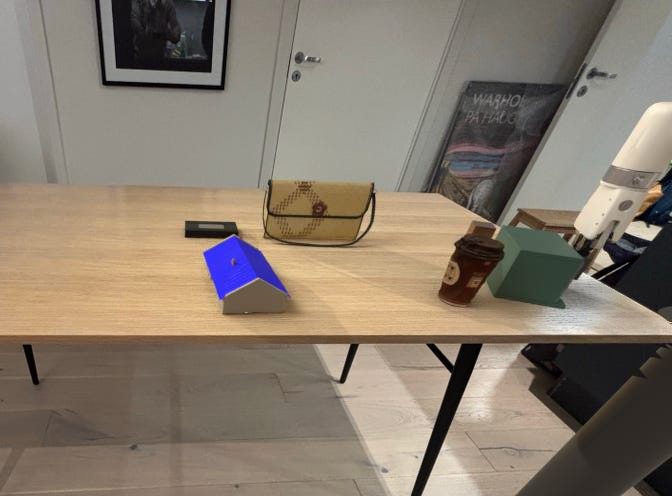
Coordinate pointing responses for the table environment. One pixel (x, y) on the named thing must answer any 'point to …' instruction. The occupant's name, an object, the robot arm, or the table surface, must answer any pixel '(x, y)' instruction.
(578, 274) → the dark grey slanted bar
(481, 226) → the walnut block
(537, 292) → the cabinet
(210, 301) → the table surface
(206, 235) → the vhs tape
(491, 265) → the coffee cup
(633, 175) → the robot arm
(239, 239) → the roof
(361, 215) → the clutch purse
